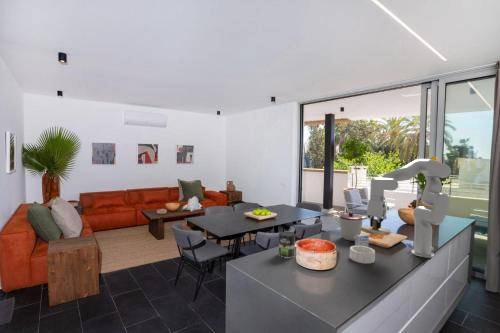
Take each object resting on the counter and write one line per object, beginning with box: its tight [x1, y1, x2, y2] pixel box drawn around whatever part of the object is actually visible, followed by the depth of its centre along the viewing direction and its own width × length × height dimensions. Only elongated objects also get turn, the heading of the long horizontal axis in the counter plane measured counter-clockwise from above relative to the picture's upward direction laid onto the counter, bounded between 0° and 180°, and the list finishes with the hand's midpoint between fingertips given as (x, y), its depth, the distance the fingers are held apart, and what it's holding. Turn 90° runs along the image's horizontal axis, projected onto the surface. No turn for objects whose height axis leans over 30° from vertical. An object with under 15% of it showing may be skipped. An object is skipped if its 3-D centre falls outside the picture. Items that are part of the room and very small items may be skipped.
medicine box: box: [354, 233, 370, 247], centre depth 184 cm, size 8×4×9 cm, turn 105°
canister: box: [338, 211, 364, 242], centre depth 203 cm, size 18×18×21 cm
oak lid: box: [361, 218, 392, 236], centre depth 162 cm, size 17×17×7 cm
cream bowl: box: [349, 245, 376, 264], centre depth 163 cm, size 14×14×6 cm
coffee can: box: [278, 231, 296, 259], centre depth 167 cm, size 10×10×14 cm
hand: (375, 227), depth 162 cm, fingers closed on oak lid, 3 cm apart
